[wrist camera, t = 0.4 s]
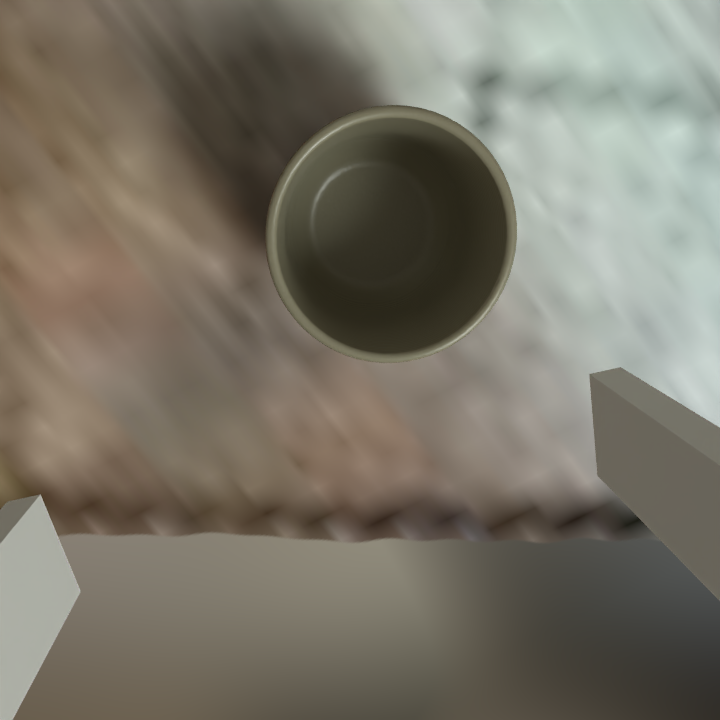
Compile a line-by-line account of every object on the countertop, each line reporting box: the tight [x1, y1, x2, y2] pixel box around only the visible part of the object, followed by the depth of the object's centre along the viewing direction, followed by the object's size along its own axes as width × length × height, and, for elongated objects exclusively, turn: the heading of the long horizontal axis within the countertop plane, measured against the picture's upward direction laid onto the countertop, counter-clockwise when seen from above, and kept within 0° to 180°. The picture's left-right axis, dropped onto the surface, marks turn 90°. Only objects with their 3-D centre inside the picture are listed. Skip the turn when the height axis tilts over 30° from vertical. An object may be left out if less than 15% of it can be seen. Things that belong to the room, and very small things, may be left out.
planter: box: [265, 105, 517, 363], centre depth 34 cm, size 12×12×11 cm
